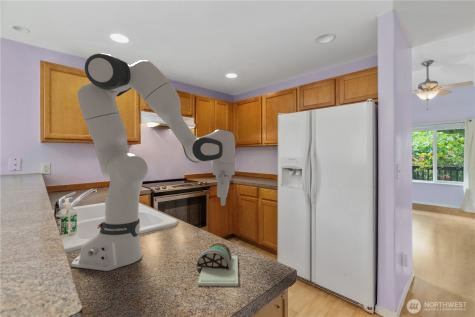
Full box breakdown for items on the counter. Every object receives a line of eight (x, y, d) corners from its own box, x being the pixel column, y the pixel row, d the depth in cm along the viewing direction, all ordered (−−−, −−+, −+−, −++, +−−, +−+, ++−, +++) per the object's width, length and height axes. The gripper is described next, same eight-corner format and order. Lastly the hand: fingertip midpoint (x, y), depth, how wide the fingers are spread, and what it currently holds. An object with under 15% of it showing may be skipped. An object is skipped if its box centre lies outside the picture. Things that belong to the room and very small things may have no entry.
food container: (235, 241, 84) (231, 252, 74) (235, 257, 84) (230, 270, 74) (203, 238, 85) (195, 249, 75) (203, 255, 85) (194, 267, 75)
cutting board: (197, 285, 66) (197, 282, 66) (205, 257, 85) (206, 254, 85) (238, 286, 66) (238, 283, 66) (237, 257, 85) (237, 255, 85)
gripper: (231, 172, 79) (230, 211, 79) (231, 169, 100) (231, 200, 100) (213, 171, 79) (212, 210, 79) (217, 169, 100) (217, 200, 100)
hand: (223, 204), depth 90 cm, fingers closed
